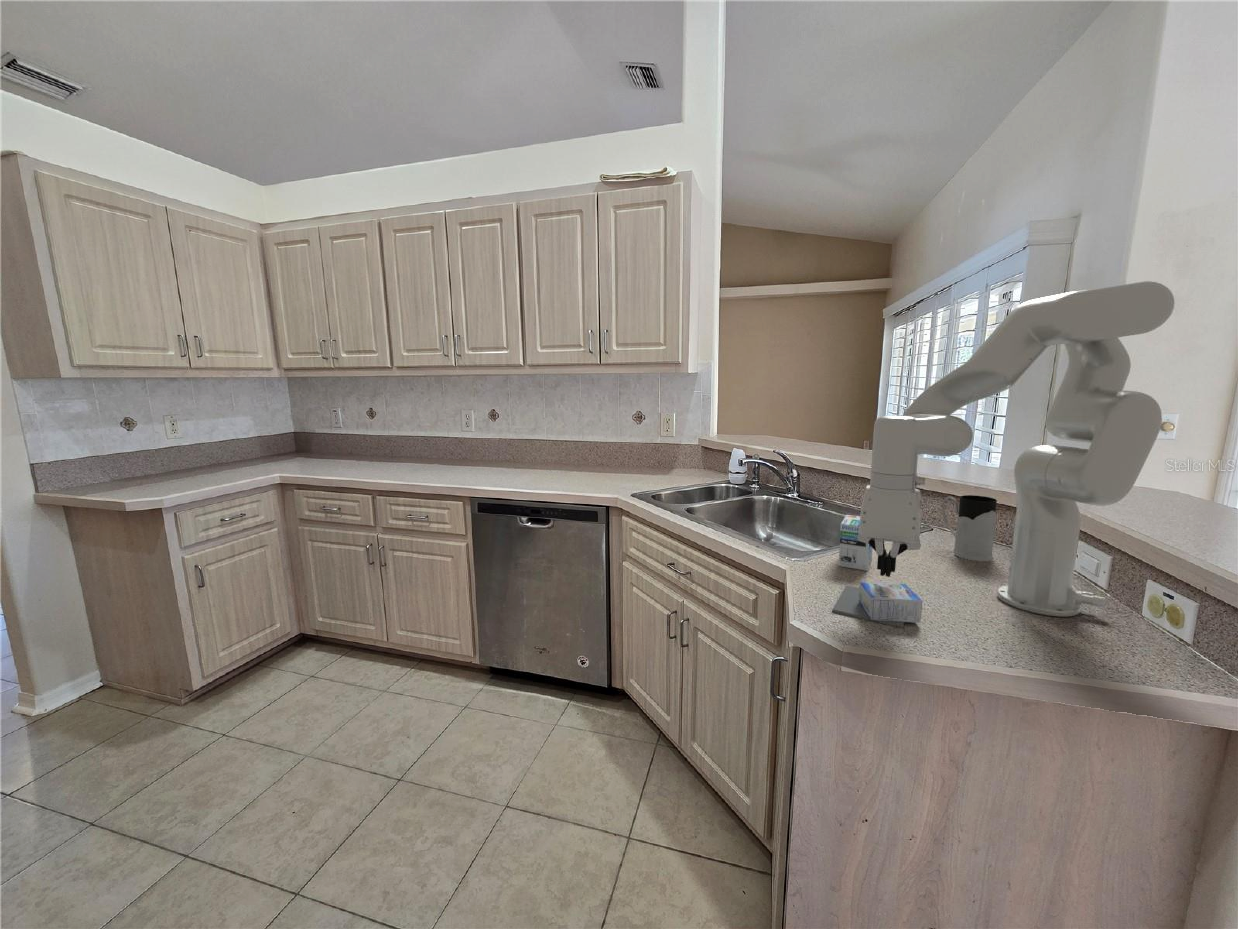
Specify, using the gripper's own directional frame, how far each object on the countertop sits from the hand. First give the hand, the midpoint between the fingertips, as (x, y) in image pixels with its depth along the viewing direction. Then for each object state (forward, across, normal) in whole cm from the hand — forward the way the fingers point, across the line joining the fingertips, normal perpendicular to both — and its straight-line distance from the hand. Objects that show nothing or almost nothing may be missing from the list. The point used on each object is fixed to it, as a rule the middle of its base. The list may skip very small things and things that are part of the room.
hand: (885, 574), depth 95 cm
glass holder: (+7, -13, -48) cm, 50 cm away
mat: (+7, +2, 0) cm, 7 cm away
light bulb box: (+7, +9, -25) cm, 28 cm away
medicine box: (+4, -5, +1) cm, 7 cm away
